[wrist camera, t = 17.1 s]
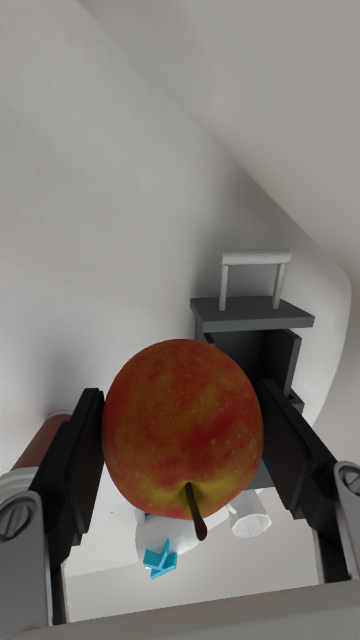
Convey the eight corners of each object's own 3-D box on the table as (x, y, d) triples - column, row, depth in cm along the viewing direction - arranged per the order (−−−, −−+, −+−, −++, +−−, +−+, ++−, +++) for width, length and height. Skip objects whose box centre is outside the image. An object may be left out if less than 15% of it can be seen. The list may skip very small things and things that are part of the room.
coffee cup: (49, 394, 32) (-7, 481, 21) (107, 416, 34) (84, 504, 23) (26, 435, 34) (-36, 533, 23) (81, 453, 37) (50, 548, 26)
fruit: (202, 423, 15) (244, 607, 8) (102, 398, 13) (36, 601, 6) (251, 340, 13) (377, 485, 6) (140, 298, 11) (107, 425, 4)
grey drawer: (190, 247, 25) (205, 252, 18) (283, 246, 26) (331, 251, 19) (189, 384, 33) (198, 427, 25) (261, 379, 34) (290, 419, 26)
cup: (233, 491, 45) (248, 542, 38) (200, 473, 42) (210, 525, 34) (259, 473, 44) (280, 522, 36) (227, 452, 40) (243, 502, 33)
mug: (209, 567, 35) (148, 594, 37) (208, 515, 44) (159, 539, 46) (172, 504, 36) (113, 533, 37) (178, 465, 45) (131, 490, 46)
